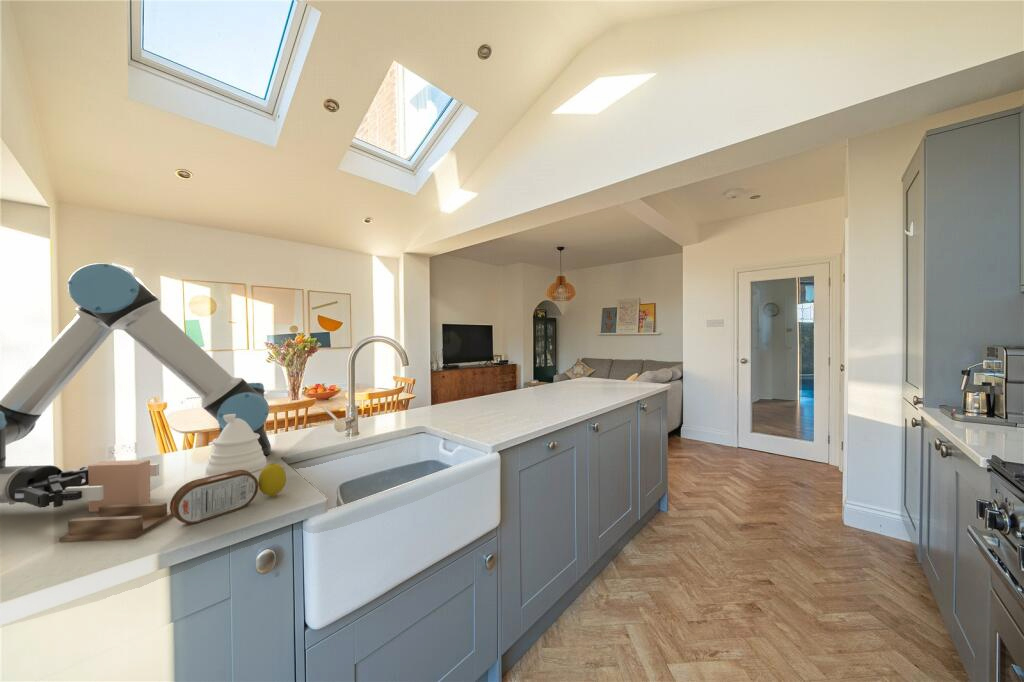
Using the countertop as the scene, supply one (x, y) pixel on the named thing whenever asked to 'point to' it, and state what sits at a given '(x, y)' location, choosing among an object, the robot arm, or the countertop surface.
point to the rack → (117, 522)
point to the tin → (213, 496)
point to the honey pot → (236, 449)
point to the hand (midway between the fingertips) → (132, 480)
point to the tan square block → (120, 482)
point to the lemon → (272, 479)
